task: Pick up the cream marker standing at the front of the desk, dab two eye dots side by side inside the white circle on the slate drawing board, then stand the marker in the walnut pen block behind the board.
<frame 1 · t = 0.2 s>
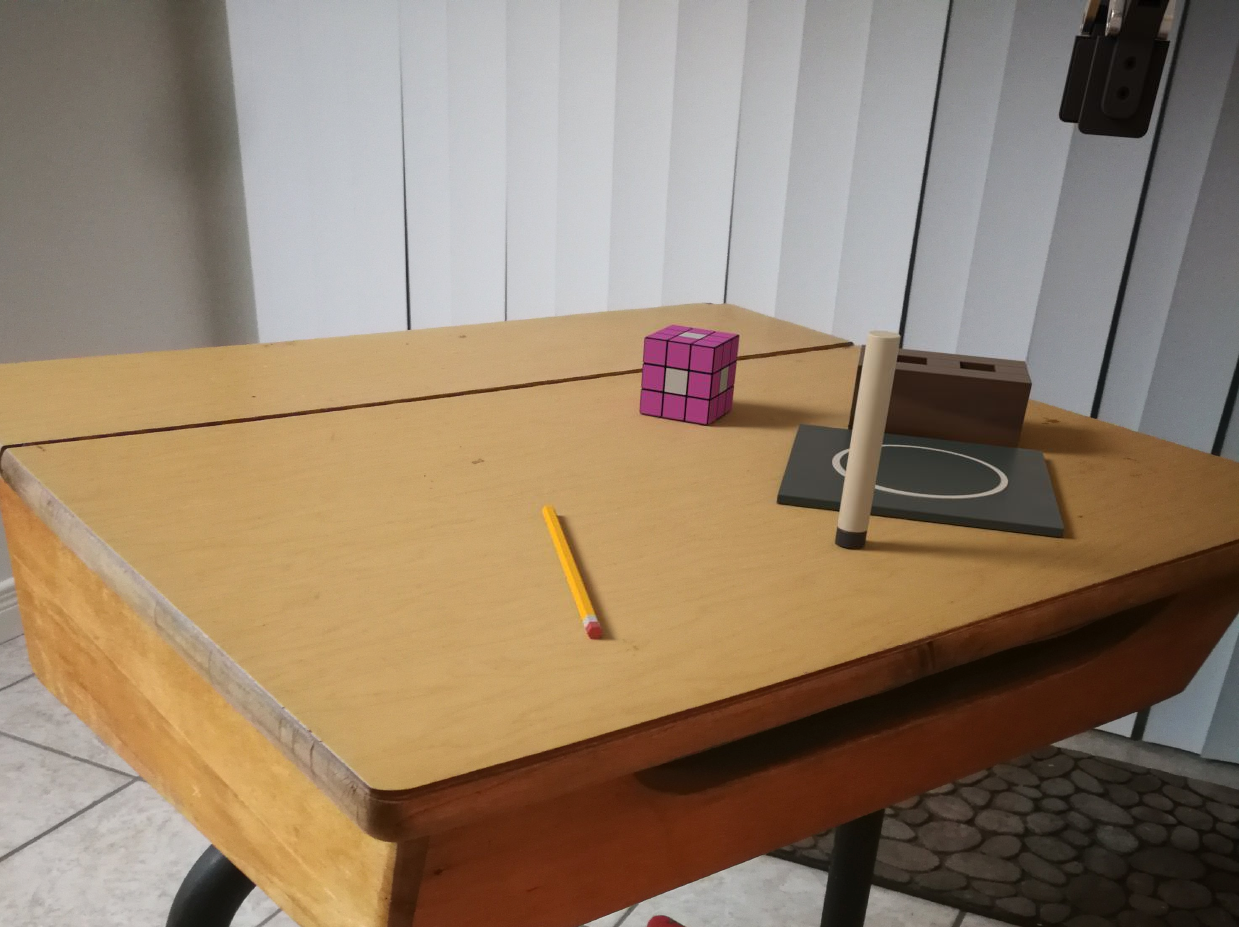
hand: (1098, 129, 66), 22 cm above the table, tool pointing down, fingers open, 9 cm apart
marker: (849, 543, 77), on the table
puzzle toy: (685, 414, 101), on the table
holder: (930, 429, 101), on the table
pencil: (568, 574, 71), on the table
board: (917, 479, 89), on the table
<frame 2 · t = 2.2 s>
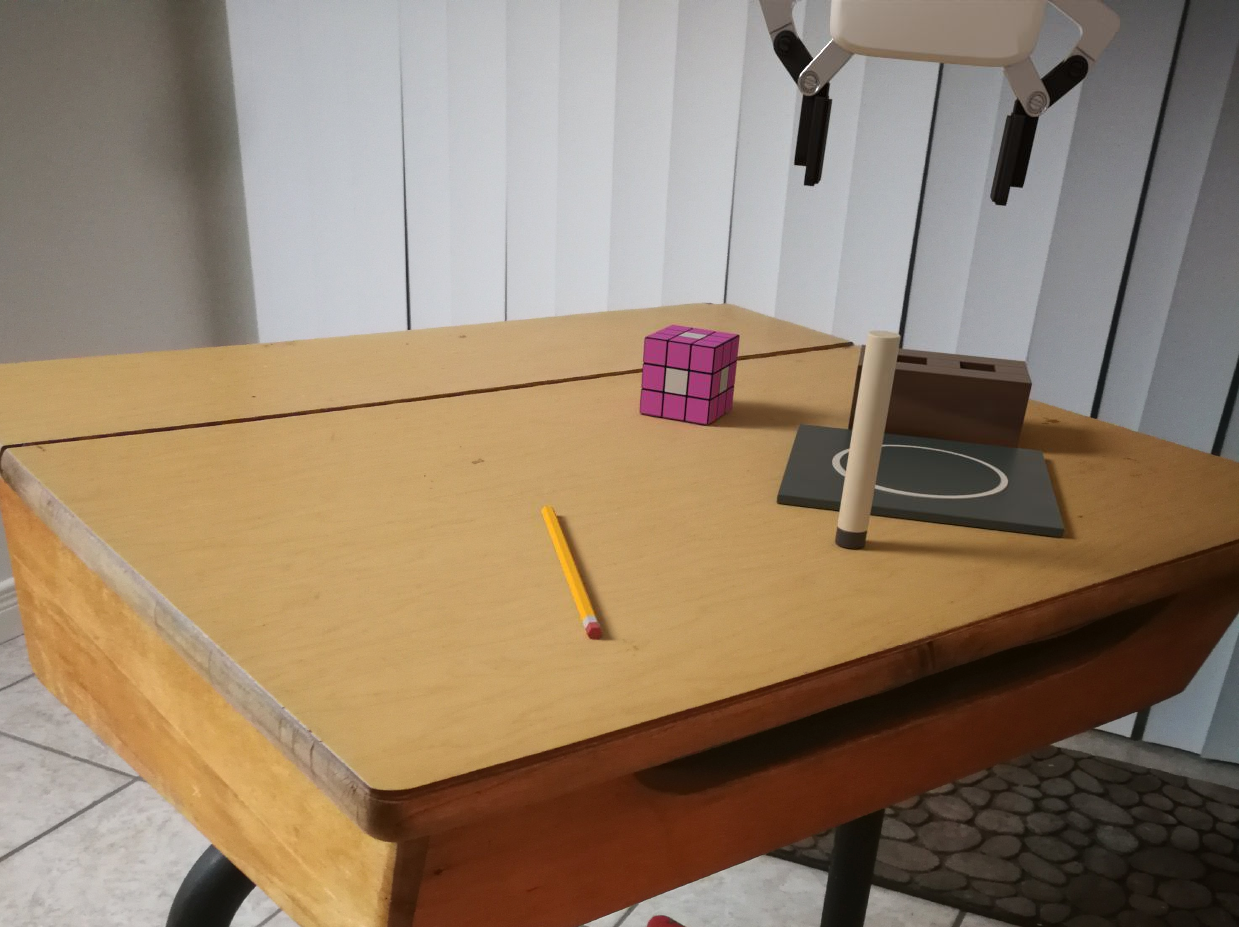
hand: (904, 192, 67), 19 cm above the table, tool pointing down, fingers open, 9 cm apart
nothing on the table moved.
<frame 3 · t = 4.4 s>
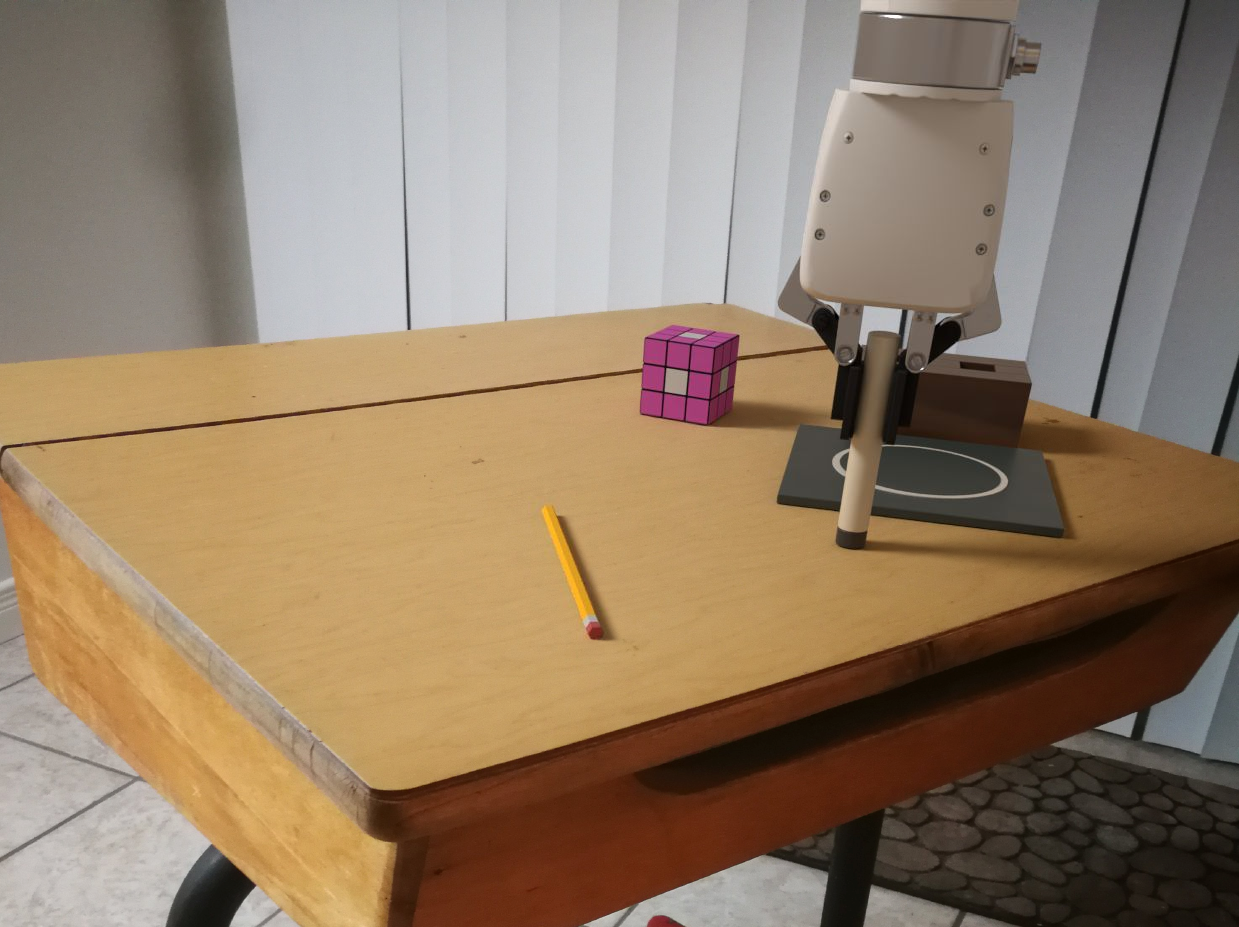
hand: (868, 433, 74), 7 cm above the table, tool pointing down, fingers closed on marker, 1 cm apart
marker: (850, 543, 77), on the table, touching gripper
everything else where it was.
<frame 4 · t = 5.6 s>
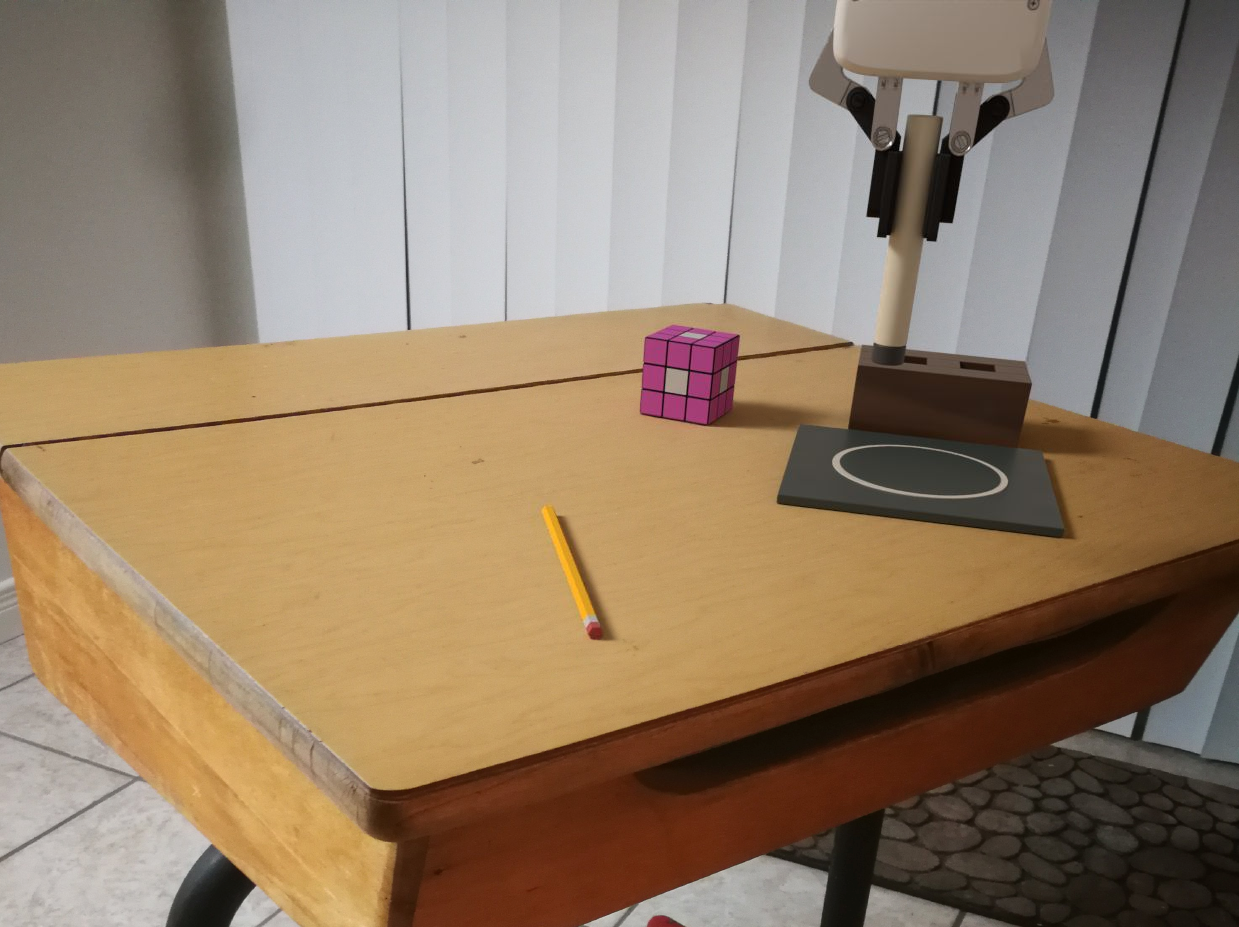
hand: (906, 233, 68), 17 cm above the table, tool pointing down, fingers closed on marker
marker: (887, 362, 72), point 11 cm above the table, touching gripper
everything else where it was.
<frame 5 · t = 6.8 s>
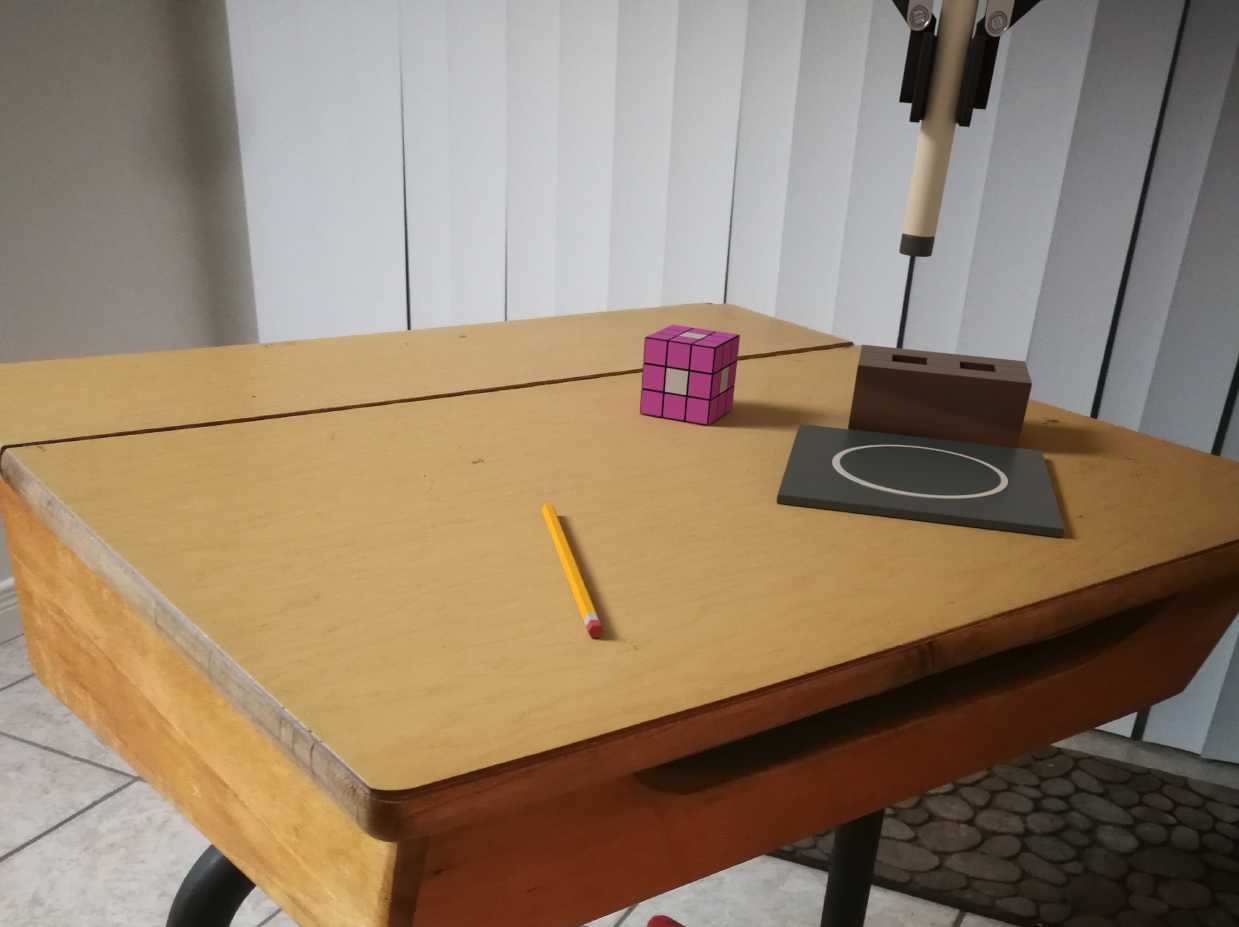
hand: (939, 119, 68), 22 cm above the table, tool pointing down, fingers closed on marker
marker: (915, 254, 71), point 16 cm above the table, touching gripper
everything else where it was.
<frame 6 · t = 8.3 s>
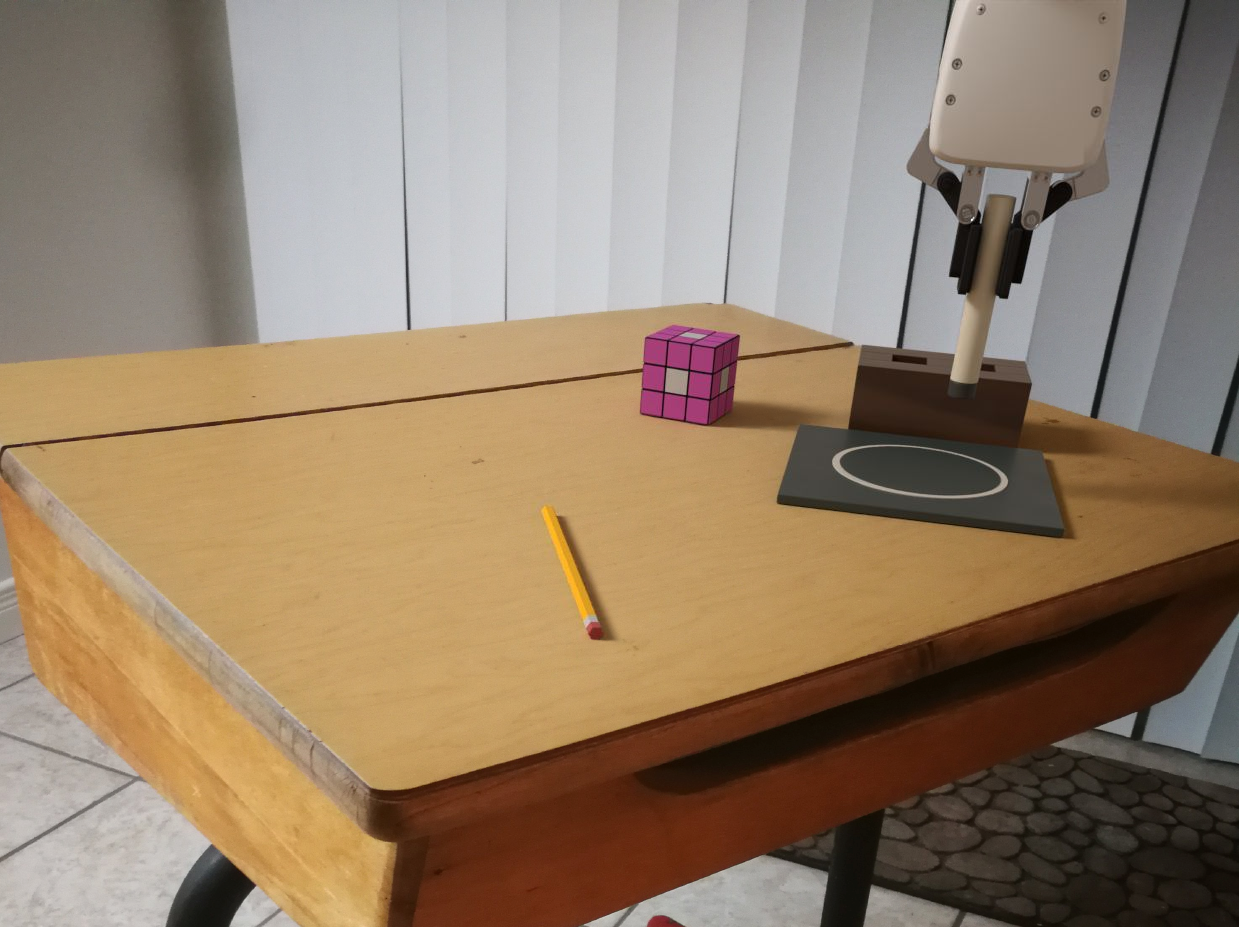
hand: (982, 290, 82), 12 cm above the table, tool pointing down, fingers closed on marker
marker: (960, 396, 85), point 6 cm above the table, touching gripper
everything else where it was.
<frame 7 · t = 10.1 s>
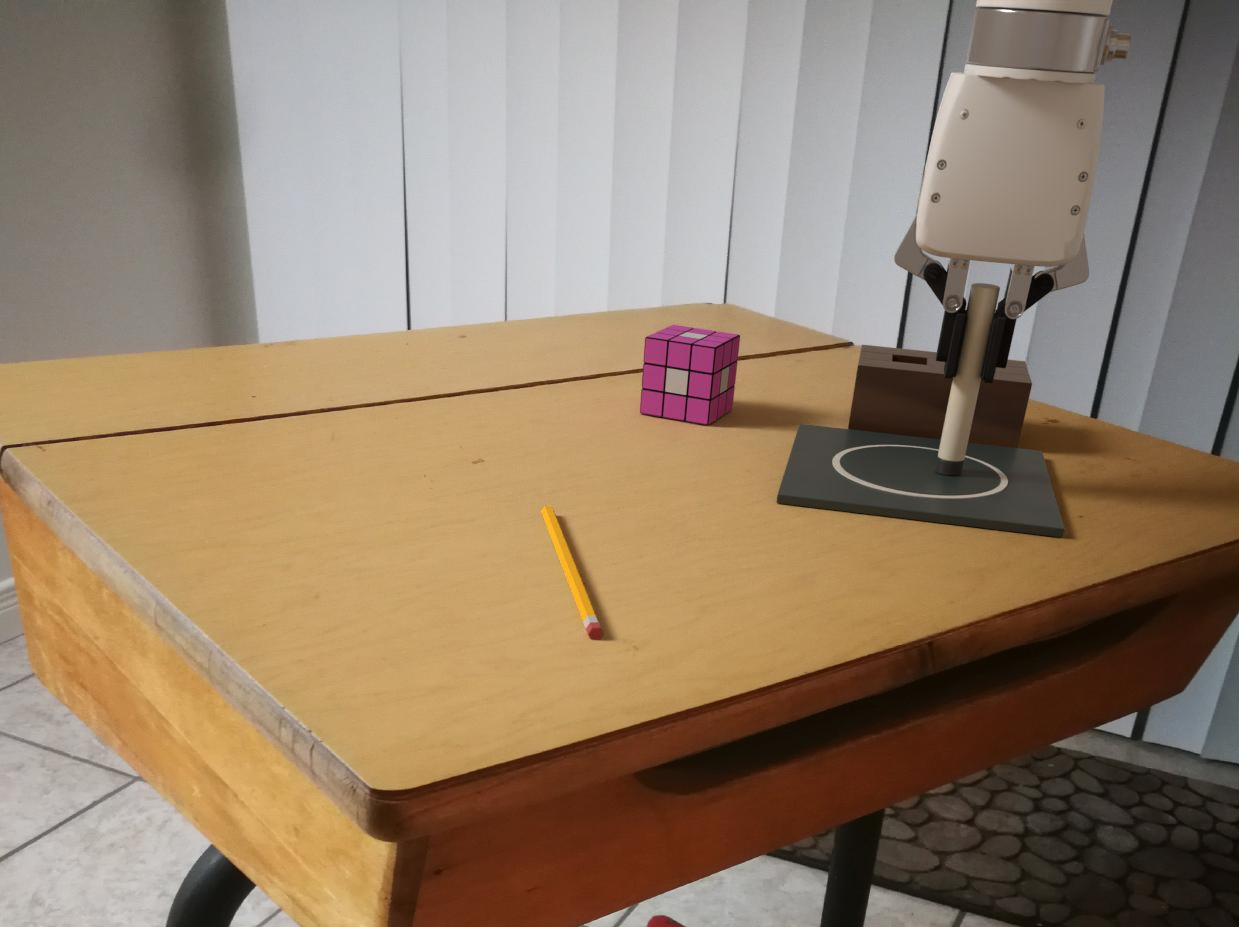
hand: (968, 374, 85), 7 cm above the table, tool pointing down, fingers closed on marker, 1 cm apart
marker: (948, 472, 88), point 1 cm above the table, touching gripper
everything else where it was.
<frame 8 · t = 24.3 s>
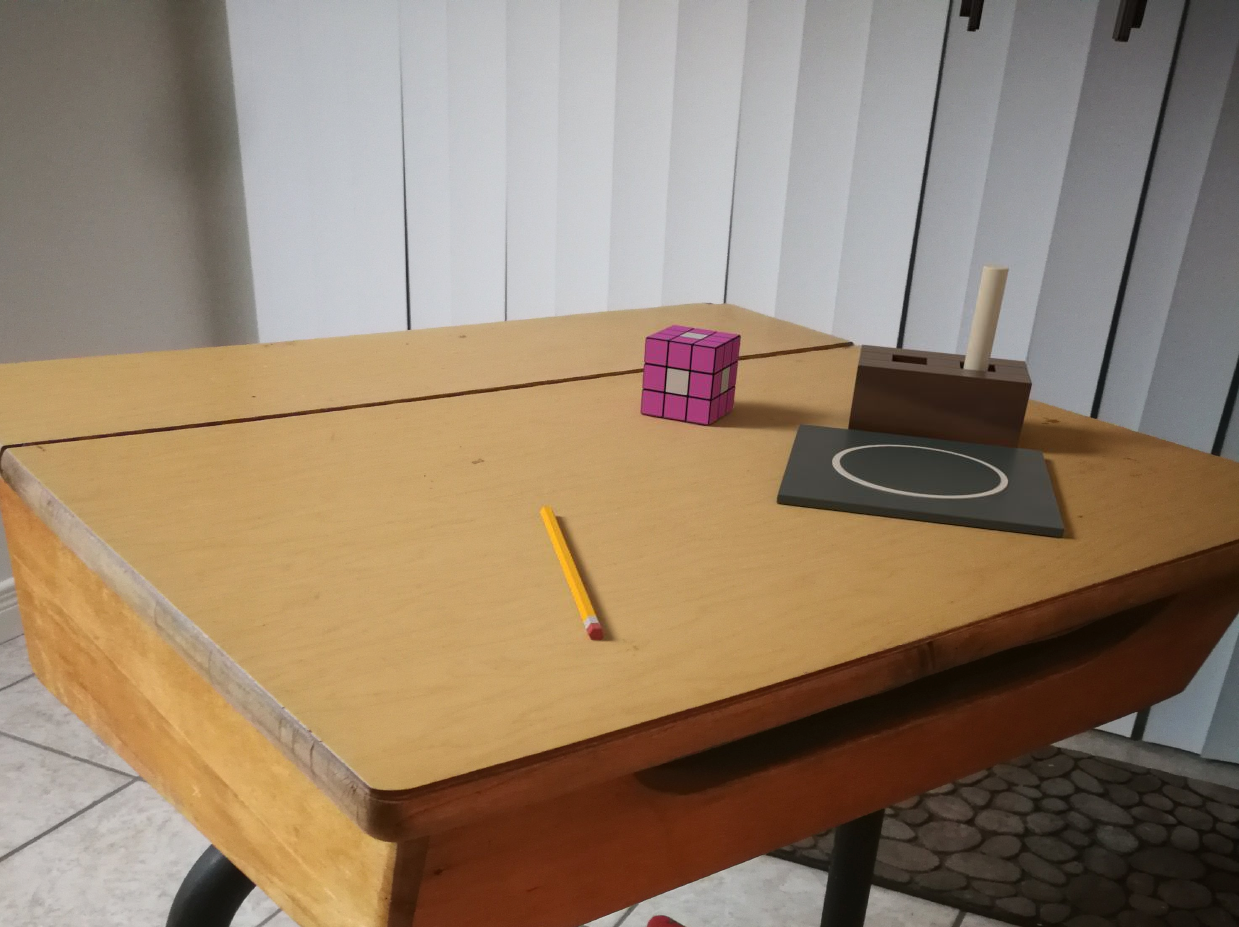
hand: (1045, 36, 86), 26 cm above the table, tool pointing down, fingers open, 9 cm apart
marker: (962, 432, 100), resting in holder
everything else where it was.
at the end: marker 0.2 cm from the target spot in the holder, point 0.0 cm above the holder's base; marker tilted 0°; the gripper is holding nothing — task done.
